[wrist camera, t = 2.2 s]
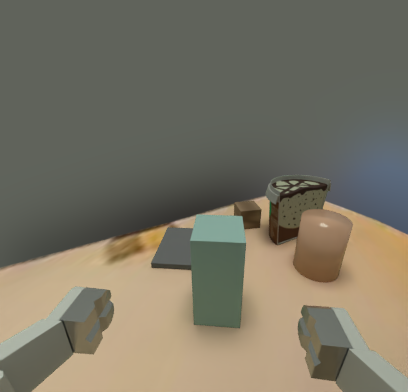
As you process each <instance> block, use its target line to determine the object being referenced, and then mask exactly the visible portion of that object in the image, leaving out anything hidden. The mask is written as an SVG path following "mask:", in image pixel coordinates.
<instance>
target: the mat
mask: <svg viewBox="0 0 408 392" xmlns="http://www.w3.org/2000/svg"><path fill="white" fill-rule="evenodd" d="M192 231H193V228H167V230H166V233H165V235H164V237H163V239H162V241H161V243H160V245H159V248H158V250H157V252H156V254H155V256H154V258H153V260H152V262H151V265H152V267H154V268H172V269H191V250H190V239H191V235H192Z"/></svg>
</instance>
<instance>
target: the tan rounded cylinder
mask: <svg viewBox="0 0 408 392" xmlns="http://www.w3.org/2000/svg"><path fill="white" fill-rule="evenodd" d="M352 226H353V224H352V222H351V221H350V220H349V219H348V218H347V217H345V216H343V215H341V214H339V213H336V212H333V211H329V210H323V209H310V210H306V211H304V212H303V213H302V216H301V221H300V227H299V232H298V238H297V243H296V249H295V254H294V260H293V265H294V267H295V269H296V270H297V271H298V272H299V273H300V274H301V275H303V276H305V277H306V278H308V279H311V280H314V281H318V282H332V281H334V280H336V279H337V277H338V275H339V271H340V268H341V264H342V261H343V258H344V254H345V251H346V247H347V244H348V240H349V237H350V233H351V230H352Z"/></svg>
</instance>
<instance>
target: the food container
mask: <svg viewBox="0 0 408 392" xmlns="http://www.w3.org/2000/svg"><path fill="white" fill-rule="evenodd" d="M330 187H331V183H330V180H328V179H324V178H320V177H314V176H306V175H285V176H280V177H277V178H274V179H273V180H271V183H270V184H269V186H268V189H267V191H266V197H267V198H268V200H270V212H269V236H270V238H271V240H272V241H273V242H274V243H275V244H276V245H279V244H282V243H285V242H288V241H291V240H294V239H297V238H298V232H299V227H300V221H301V216H302V213H303V212H304V211H306V210H310V209H323V205H324V202H325V198H326V195H327V192H328V191H330Z"/></svg>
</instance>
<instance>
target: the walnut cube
mask: <svg viewBox="0 0 408 392" xmlns="http://www.w3.org/2000/svg"><path fill="white" fill-rule="evenodd" d="M234 216H242V217H243V225H244V229H251V228H260V219H261V209H260V207H259V206H258V205H257V204H256V203H255V202H254V201H246V202H235V203H234Z"/></svg>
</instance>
